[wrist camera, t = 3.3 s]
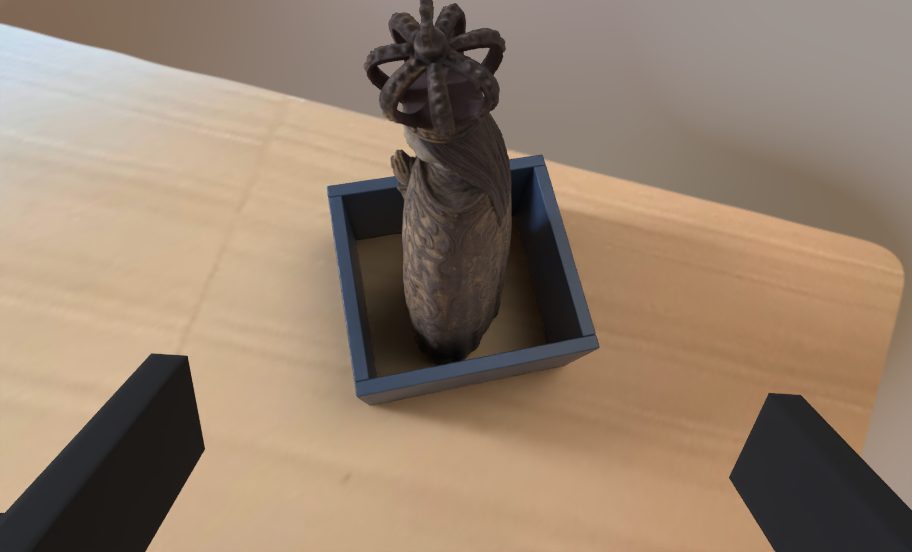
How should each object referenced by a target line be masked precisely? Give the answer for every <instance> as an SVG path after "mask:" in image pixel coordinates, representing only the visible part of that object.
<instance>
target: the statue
mask: <svg viewBox="0 0 912 552" xmlns="http://www.w3.org/2000/svg"><path fill="white" fill-rule="evenodd" d="M433 10H434V7H433V1H432V0H420V9H419V12H420V15H421V23H420V24H419V23H418V22H417V21H416V20H415V19H414V18H413V17H412V16H410V14H408V13H395V14H393V15H392V17H391V19H390V20H389V29H390V32H391V36H392V38H393V40H394V42H395V44H390V45H386V46H381V47H378V48H375V49H374V51H371V52H370V55H368V56H367V62H366V63H365V64H364V69H365V70H366V72H367V77H368V78H369V80H370V81H371V82H372V84H374V85H375V86H376V87H377V88H379V89H380V90H381V93H380V96H379V104H380V107H381V109H382V110H383V115H384V116H385V117H386V118H388V119H389V120H390V121H394V122H395V123H400V124H403V125H404V137H405V138H406V141H407V143H408V145H409V147H411V148H412V149H413V150H414V152H415V154H416V157H410V156H409V155H408V154H406V153H405V152H404V151H403V150H396V152H395V155H393V156H391V167H392V168H393V172H394V175H395V177H396V178H397V180H398V181H399V182H400V183H398V184H397V189H398V190H399V191H400V192H401V193H402V196H403V198H404V200H405V201H404V210H403V226H402V240H403V252H404V257H403V283H404V294H405V296H406V305H407V310H408V313H409V316H410V320H411V323H412V328H413V332H414V334H415V339H416V342H417V344H418V345H419V348H420V350H421V351H422V352H425V353H427V354H428V355H429V356H430V358H431V359H432V360H433V361H434V362H436V363H439V364H447V363H450V362H459V361H462V360H464V359H465V358H466V357H467V355H468V354H469V353H470V352H472V351H474V350H475V349H477V347H478V346H479V344H480V341H481V339H482V336H483V334H485V333H486V331H487V329H488V327H489V325H490V323H491V321H492V320H493V319H494V318H495V317H496V316H497V314H498V311H499V306H500V298H501V293H502V290H503V285H504V279H505V274H506V269H507V259H508V255H509V249H510V240H511V224H512V221H511V169H510V162H509V157H508V155H507V149H506V147H505V143H504V139H503V137H502V133H501V131H500V129H499V128H498V126H497V124H496V122H495V121H494V119H493V117H492V116H491V114H490V113H489V112H490V111H492V110H493V109H495V107H496V106H497V104H498V102H499V90H500V89H499V85H498V82H497V80H496V79H495V77H494V76H493V75H494V73H495V71H496V70H497V69H498V67H499V65H500V63H501V61H502V58H503V52H504V51H505V49H506V48H505V41H504V39H503V38H501V37H500V34H499V32H498V31H496V30H492V29H489V28H481V29H477V30H472V31H470V32H468V33H465V28H466V20H465V14H464V12H463V11H462V10H461V8H460V7H459V6H458V5H457V4H456V3H454V4H450V5H449V6H445V7H443V9H442V11H441V12H440V15H439V16H438V18H437V21H436V23H435V26H433ZM477 48H490V49H489V52H488V54H487V56H486V58H485V59H484V60H483V62H482V63H481V64H480V63H479V62H477V61H475V60H473V59H471V58H470V57H468V56H465V55H464V53H463V52H464V51H467V50H471V49H477ZM399 60H404V62H405V63H404V64H403V65H402V66H401V67H400V68H399V69H398V70H397V71H395V72H394V74H393V75H392V76H391V77H389V76H387V75H386V74H385V73H383V72H382V71H381V70H380V69H379V67H377V66H378V65H380V64H383V63H387V62H393V61H399ZM482 92H483V94H484V97H483V94H482ZM399 102H400V103H402V105H403V112H400V111H398V110H397V106H398V103H399Z"/></svg>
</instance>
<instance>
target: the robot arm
mask: <svg viewBox="0 0 912 552" xmlns="http://www.w3.org/2000/svg"><path fill="white" fill-rule="evenodd" d="M204 450H205V446H204V441H203V436H202V430H201V425H200V420H199V414H198V409H197V404H196V398H195V393H194V388H193V382H192V377H191V372H190V366H189V361H188V356H182V355H166V354H150V356H149V357H148V358H147V359H146V360H145V361H144V362H143V363H142V364H141V365H140V366H139V368H138V369H137V370H136V371H135V372H134V373H133V374H132V375H131V376H130V377H129V378H128V380H127V381H126V382H125V383H124V384H123V385H122V386H121V387H120V388H119V389H118V390H117V391H116V393H115V394H114V395H113V396H112V397H111V398H110V399H109V400H108V401H107V402H106V403H105V405H104V406H103V407H102V408H101V409H100V410H99V411H98V412H97V413H96V414H95V415H94V417H93V418H92V419H91V420H90V421H89V422H88V423H87V424H86V425H85V426H84V427H83V428H82V430H81V431H80V432H79V433H78V434H77V435H76V436H75V437H74V438H73V439H72V440H71V442H70V443H69V444H68V445H67V446H66V447H65V448H64V449H63V450H62V451H61V452H60V454H59V455H58V456H57V457H56V458H55V459H54V460H53V461H52V462H51V463H50V464H49V465H48V467H47V468H46V469H45V470H44V471H43V472H42V473H41V474H40V475H39V476H38V477H37V479H36V480H35V481H34V482H33V483H32V484H31V485H30V486H29V487H28V488H27V489H26V491H25V492H24V493H23V494H22V495H21V496H20V497H19V498H18V499H17V500H16V501H15V502H14V504H13V505H12V506H11V507H10V508H9V509H8V510H7V511H6V512H5V513H0V552H145V551H146V550H147V548H148V546H149V544H150V543H151V541H152V539H153V538H154V536H155V534H156V532H157V531H158V529H159V527H160V526H161V524H162V522H163V520H164V519H165V517H166V515H167V513H168V512H169V510H170V508H171V507H172V505H173V503H174V501H175V500H176V498H177V496H178V495H179V493H180V491H181V489H182V488H183V486H184V484H185V483H186V481H187V479H188V477H189V476H190V474H191V472H192V471H193V469H194V467H195V465H196V464H197V462H198V460H199V458H200V457H201V455H202V453H203V452H204ZM729 478H730V480H731V482H732V483H733V485H734V486H735V488H736V490H737V491H738V493H739V494H740V496H741V498H742V499H743V501H744V502H745V504H746V506H747V507H748V509H749V510H750V512H751V514H752V515H753V517H754V518H755V520H756V522H757V523H758V525H759V526H760V528H761V530H762V531H763V533H764V534H765V536H766V538H767V539H768V541H769V542H770V544H771V546H772V547H773V549H774V550H775V552H912V510H911V509H910V508H909V507H908V506H907V505H906V504H905V503H904V502H903V501H902V500H901V499H900V498H899V497H898V496H897V494H895V492H893V490H892V489H891V488H890V487H889V486H888V485H887V484H886V483H885V482H884V481H883V480H882V479H881V478H880V477H879V476H878V475H877V474H876V473H875V472H874V471H873V470H872V469H871V468H870V467H869V465H867V463H866V462H865V461H864V460H863V459H862V458H861V457H860V456H859V455H858V454H857V453H856V452H855V451H854V450H853V449H852V448H851V447H850V446H849V445H848V444H847V443H846V441H845V440H844V439H843V438H842V437H841V436H840V435H839V434H838V433H837V432H836V431H835V430H834V429H833V428H832V427H831V426H830V425H829V424H828V423H827V422H826V421H825V420H824V419H823V418H822V417H821V416H820V414H819V413H818V412H817V411H816V410H815V409H814V408H813V407H812V406H811V405H810V404H809V403H808V402H807V401H806V400H805V399H804V398H803V397H802V396H801V395H792V394H776V393H769V394H768V396H767V398H766V400H765V403H764V405H763V407H762V409H761V411H760V413H759V415H758V417H757V419H756V422H755V424H754V426H753V428H752V430H751V432H750V434H749V436H748V439H747V441H746V443H745V445H744V447H743V449H742V451H741V453H740V455H739V458H738V460H737V462H736V464H735V466H734V468H733V470H732V472H731V475H730V477H729Z"/></svg>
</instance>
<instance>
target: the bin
mask: <svg viewBox="0 0 912 552" xmlns="http://www.w3.org/2000/svg"><path fill="white" fill-rule="evenodd" d="M509 162H510V169H511V215H512V214H514V216H515V220H516V224H517V227H518V231H519V235H520V239H521V243H522V246H523V250H524V254H525V258H526V261H527V265H528V269H529V273H530V276H531V280H532V284H533V288H534V292H535V295H536V299H537V303H538V307H539V310H540V314H541V318H542V322H543V326H544V329H545V333H546V337H547V341H548V344H545V345H540V346H535V347H530V348H525V349H520V350H515V351H510V352H505V353H500V354H495V355H489V356H484V357H479V358H474V359H469V360H464V361H459V362H454V363H449V364H444V365H439V366H434V367H429V368H424V369H419V370H414V371H409V372H404V373H399V374H394V375H389V376H384V377H379V378H377V372H376V365H375V359H374V352H373V346H372V340H371V333H370V327H369V321H368V314H367V308H366V302H365V295H364V289H363V282H362V276H361V270H360V263H359V257H358V251H357V244H356V240H358V239H364V238H370V237H376V236H383V235H389V234H395V233H401V232H402V226H403V210H404V201H405V200H404V198H403V196H402V193H401V192H400V191H399V190H398V189H397V184H398V183H400V182H399V181H398V180H397V178H396V177H395V176H393V177H387V178H380V179H373V180H366V181H359V182H353V183H346V184H339V185H332V186H327V193H328V198H329V199H328V200H329V207H330V214H331V221H332V228H333V235H334V242H335V249H336V256H337V263H338V270H339V277H340V284H341V291H342V298H343V305H344V312H345V319H346V326H347V333H348V340H349V347H350V354H351V361H352V368H353V375H354V381H355V389H356V396H357V397H358V398H359V399H361V400H362V401H364V402H365V403H367V404H368V405H370V406H371V405H376V404H381V403H386V402H391V401H395V400H400V399H405V398H410V397H415V396H420V395H424V394H429V393H434V392H439V391H444V390H449V389H454V388H458V387H463V386H468V385H473V384H478V383H483V382H488V381H492V380H497V379H502V378H507V377H512V376H517V375H522V374H526V373H531V372H536V371H541V370H546V369H551V368H556V367H560V366H565V365H567V364H569V363H571V362H573V361H575V360H577V359H579V358H581V357H583V356H585V355H587V354H589V353H590V352H592V351H594V350H596V349H598V348H599V343H598V340H597V337H596V335H595V334H596V333H595V330H594V326H593V323H592V319H591V316H590V313H589V309H588V306H587V303H586V299H585V296H584V292H583V289H582V286H581V282H580V279H579V275H578V272H577V269H576V265H575V262H574V259H573V255H572V252H571V248H570V245H569V242H568V238H567V235H566V232H565V228H564V225H563V221H562V218H561V215H560V211H559V208H558V205H557V201H556V198H555V194H554V191H553V188H552V184H551V181H550V178H549V174H548V171H547V167H546V165H545V161H544V158H543V155H536V156H529V157H523V158H516V159H509Z"/></svg>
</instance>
